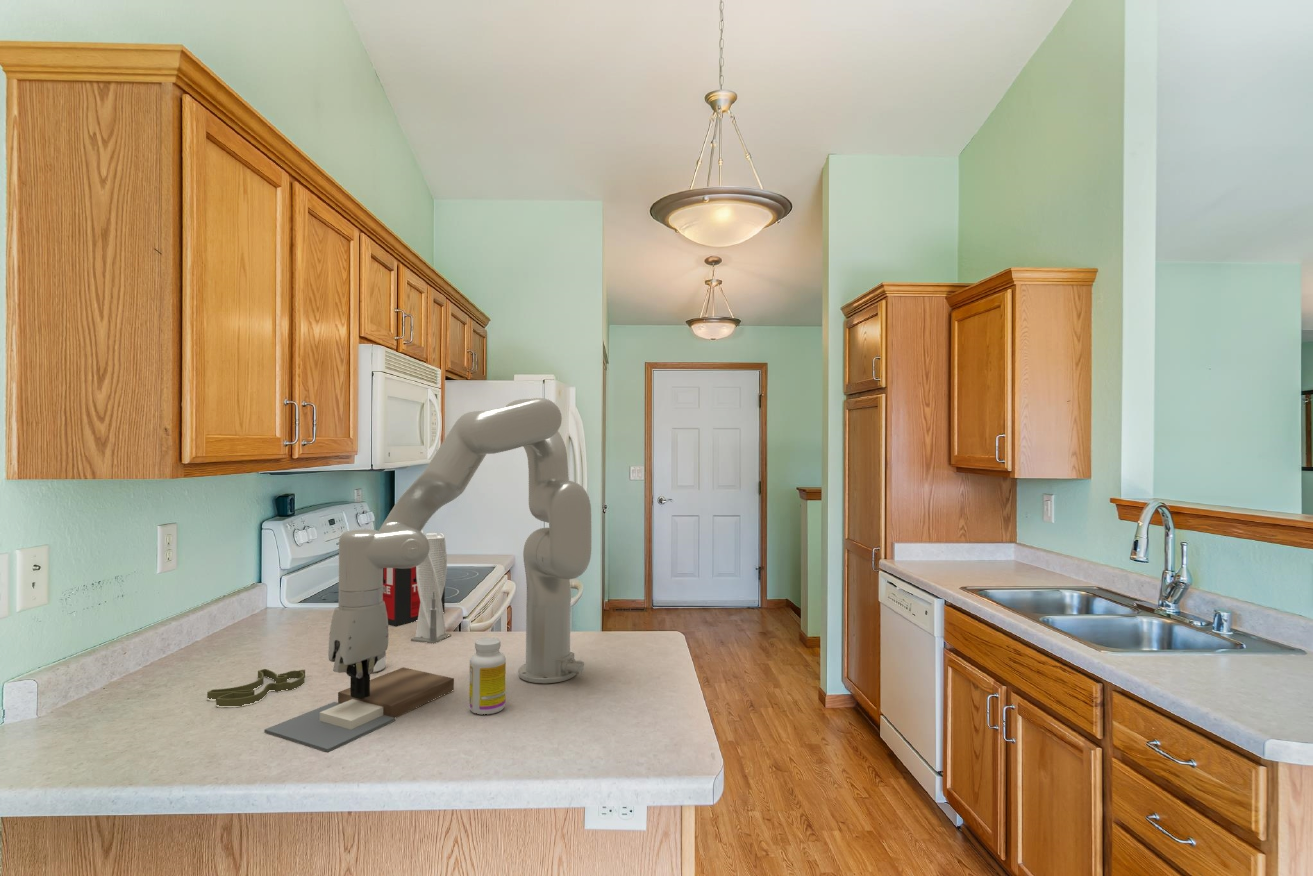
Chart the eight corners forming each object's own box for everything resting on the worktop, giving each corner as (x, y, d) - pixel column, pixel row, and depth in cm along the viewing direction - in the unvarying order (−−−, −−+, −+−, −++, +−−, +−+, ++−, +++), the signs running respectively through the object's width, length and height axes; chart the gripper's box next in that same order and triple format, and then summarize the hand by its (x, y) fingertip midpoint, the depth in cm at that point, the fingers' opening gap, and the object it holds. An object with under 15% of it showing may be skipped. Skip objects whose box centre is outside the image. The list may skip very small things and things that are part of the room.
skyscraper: (405, 640, 172) (407, 528, 172) (426, 631, 180) (427, 525, 180) (434, 643, 170) (435, 530, 170) (453, 634, 177) (455, 526, 177)
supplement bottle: (512, 706, 131) (513, 639, 131) (487, 718, 125) (488, 648, 125) (486, 699, 134) (487, 634, 134) (461, 711, 129) (462, 642, 129)
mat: (395, 720, 124) (395, 717, 124) (327, 752, 111) (327, 749, 111) (334, 704, 131) (334, 701, 131) (264, 732, 118) (264, 729, 118)
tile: (383, 715, 125) (383, 706, 125) (351, 729, 119) (351, 721, 119) (352, 707, 128) (352, 699, 128) (319, 720, 122) (319, 712, 122)
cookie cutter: (270, 675, 148) (270, 665, 148) (317, 680, 145) (317, 671, 145) (195, 706, 130) (195, 695, 130) (247, 713, 127) (247, 702, 127)
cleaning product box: (423, 609, 203) (424, 541, 203) (444, 613, 198) (445, 544, 198) (375, 621, 189) (375, 549, 189) (396, 626, 184) (397, 552, 184)
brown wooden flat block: (453, 690, 139) (453, 678, 139) (391, 719, 124) (391, 705, 124) (403, 679, 145) (403, 667, 145) (338, 705, 130) (338, 692, 130)
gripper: (379, 587, 135) (378, 680, 135) (311, 603, 121) (310, 707, 121) (407, 591, 131) (406, 687, 132) (340, 608, 118) (339, 715, 118)
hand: (360, 696), depth 127 cm, fingers closed
